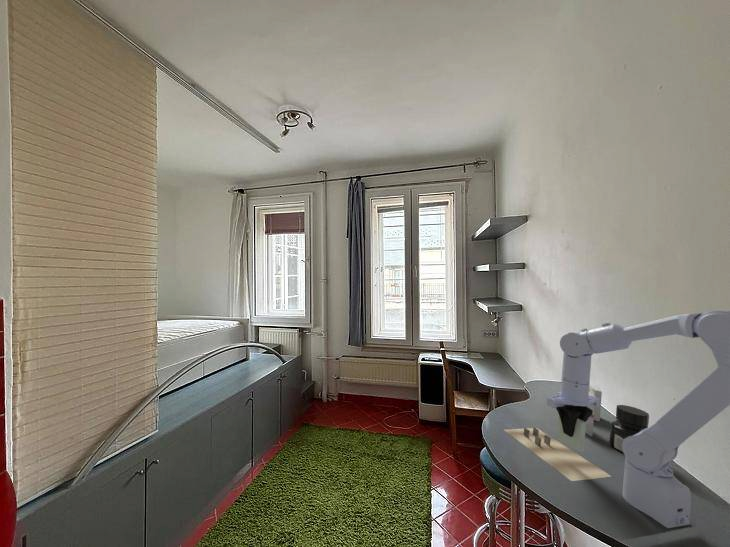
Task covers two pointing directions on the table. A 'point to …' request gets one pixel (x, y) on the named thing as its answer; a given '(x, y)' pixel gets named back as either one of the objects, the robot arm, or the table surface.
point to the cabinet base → (559, 456)
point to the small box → (598, 408)
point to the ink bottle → (626, 425)
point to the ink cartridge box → (591, 419)
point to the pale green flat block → (574, 435)
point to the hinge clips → (537, 439)
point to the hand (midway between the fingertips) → (571, 434)
